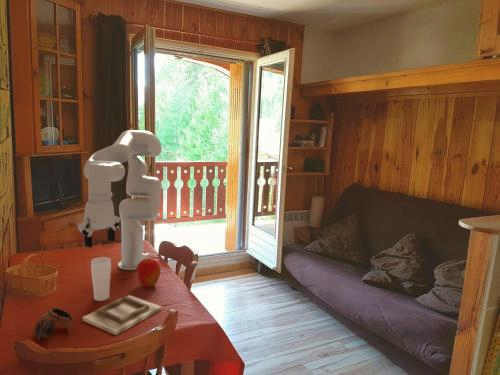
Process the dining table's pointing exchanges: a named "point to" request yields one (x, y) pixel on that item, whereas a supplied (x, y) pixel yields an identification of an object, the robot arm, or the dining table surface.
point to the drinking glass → (101, 277)
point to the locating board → (121, 314)
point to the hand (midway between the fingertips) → (100, 243)
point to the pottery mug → (51, 322)
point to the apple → (148, 272)
